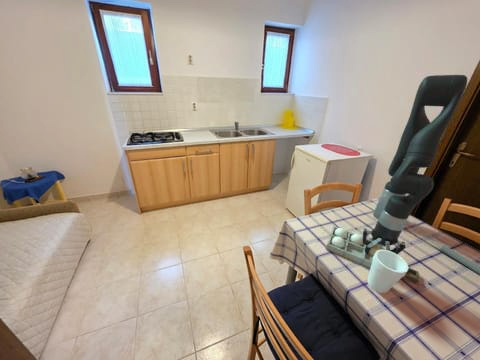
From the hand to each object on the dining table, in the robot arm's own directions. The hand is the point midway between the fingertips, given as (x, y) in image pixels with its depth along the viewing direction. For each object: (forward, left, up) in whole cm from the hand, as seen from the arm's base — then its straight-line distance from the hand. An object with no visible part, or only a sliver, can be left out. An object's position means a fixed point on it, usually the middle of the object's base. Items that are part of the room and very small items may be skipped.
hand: (374, 255), depth 79 cm
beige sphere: (0, 0, +3) cm, 3 cm away
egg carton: (-3, -7, -4) cm, 9 cm away
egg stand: (-1, +13, -4) cm, 13 cm away
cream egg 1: (-7, -14, -1) cm, 15 cm away
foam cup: (+10, +2, -4) cm, 11 cm away
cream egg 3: (-7, -7, -1) cm, 10 cm away
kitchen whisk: (-26, +25, -4) cm, 36 cm away
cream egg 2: (0, -14, -1) cm, 14 cm away
